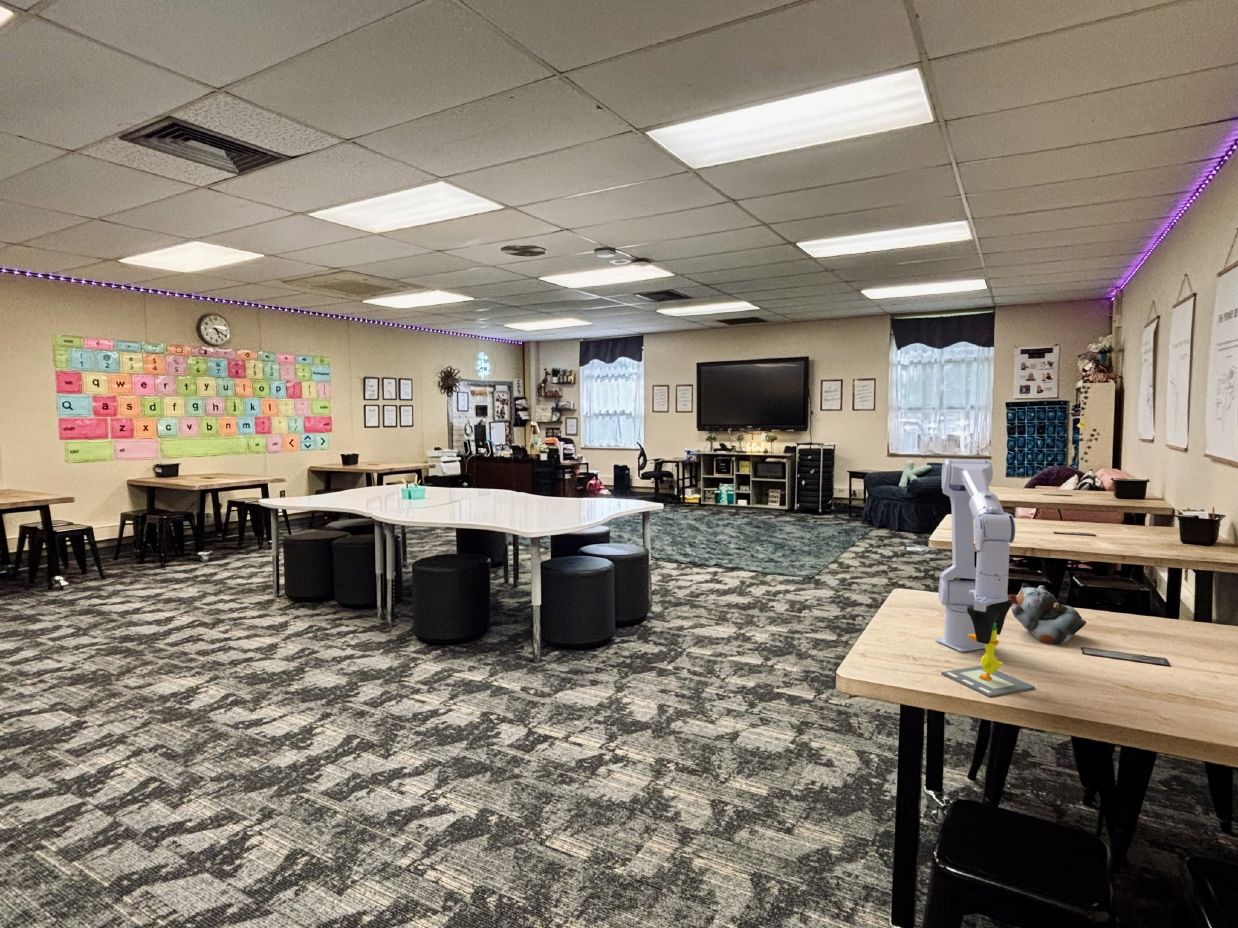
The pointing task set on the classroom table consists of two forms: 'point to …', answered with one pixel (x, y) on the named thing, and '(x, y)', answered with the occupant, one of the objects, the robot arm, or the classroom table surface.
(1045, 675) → the classroom table surface
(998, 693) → the display panel
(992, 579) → the robot arm
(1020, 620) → the lucky cat figurine
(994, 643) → the toy figure
